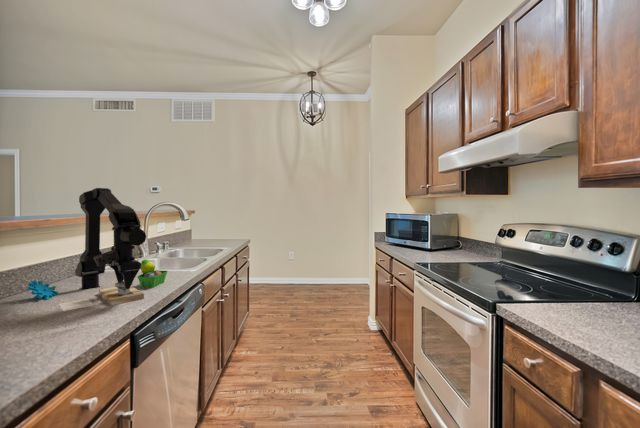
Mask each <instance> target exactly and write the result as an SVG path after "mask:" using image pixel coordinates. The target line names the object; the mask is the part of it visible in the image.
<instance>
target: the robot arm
mask: <svg viewBox="0 0 640 428" xmlns="http://www.w3.org/2000/svg"><path fill="white" fill-rule="evenodd" d="M78 202H79V205H80V208H81V210H82V212H83V213H84V214H85V233H84V234H85V238H84V239H85V241H84V244H85V245H84V251H83V252H82V254H80V257H79V262H78V263H77V265H76V267H75V269H74V272H75V273H74V274H75V276H76V277H79V278H81V287H79V291H85V290H92V289H97V288H99V289H100V288H101V286H100V274H104V273H105V271H106V266H107V265H108V267H110V268H111V269H112V270H113V272H114V274H115V277H116V281H117V282H122V281H124V284H125V288H126V289H129V288H130V286H132V285H133V282H134V280H135V278H136V277H137V274H138V272H139V271H140V270H141V263H142V262H140V261H139V260H137V259H136V258H135V256H134V255H133V254H134V250H133V249H135V246H141V245H143V244H144V243H145V242H146V239H147V234H146V232H145V231H144V230H143V229H141V226H142V225H141V223H142V222H141V220H140V218H139V217H138V215H137V213H136V211H135V209H133V207H131V206H128V205H125V204H123V203H122V202H121V201H119V199H118V198H117V197H116V196H115V195H114V194H113V193H112V190H111V189H110V188H108V187H107V188H105V187H96V188H95V187H94V188H93V189H91V190H87V191H84V192H83V193H82V194H80V195H79V197H78ZM105 210H107V212H108V220H109V222H110V223H111V225H112V228H111V230H112V231H113V245H112V246H111V248H110V251H106V252H102V251H101V249H100V248H101V247H100V246H101V214H103V212H104V211H105ZM131 284H132V285H131Z"/></svg>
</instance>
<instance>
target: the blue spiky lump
mask: <svg viewBox="0 0 640 428" xmlns="http://www.w3.org/2000/svg"><path fill="white" fill-rule="evenodd" d="M27 285H28V287H27V290H29V291H31V292H30V294H32V295H33V297H32V299H39V300H41V299H42V298H43V300H44V301H49V300H50V298H51V299H52V298H54V297H57V296H58V294H59V291H56V288H57V286H56V285H53V286H51V284H50V283H48V282H46V283H45V284H44V281H43V280H36V279H33V280H32V281H31V282H29V283H28V284H27ZM50 286H51V287H50Z"/></svg>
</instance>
